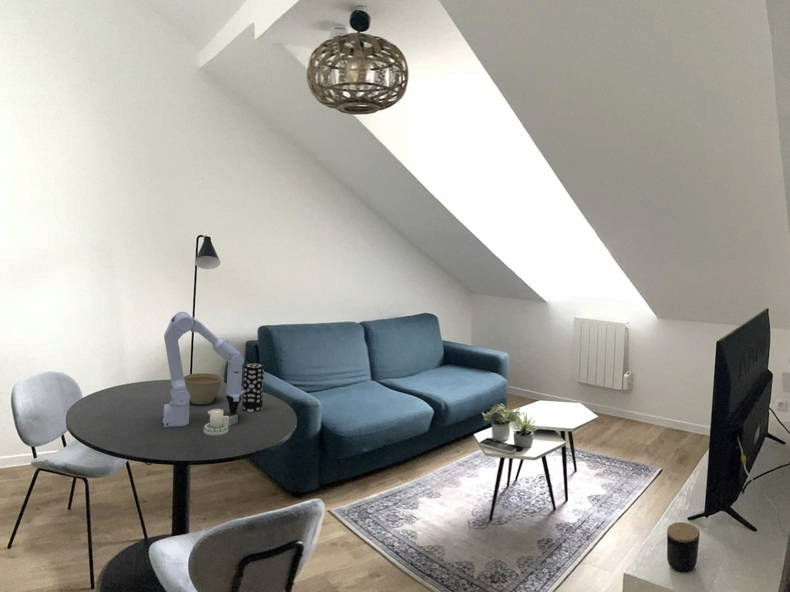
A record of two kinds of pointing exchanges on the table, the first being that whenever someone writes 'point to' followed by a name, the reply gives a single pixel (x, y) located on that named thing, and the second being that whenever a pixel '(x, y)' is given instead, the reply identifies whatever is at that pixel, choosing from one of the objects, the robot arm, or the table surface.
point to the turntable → (220, 431)
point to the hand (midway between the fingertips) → (233, 413)
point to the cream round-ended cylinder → (218, 419)
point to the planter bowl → (202, 387)
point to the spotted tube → (253, 387)
